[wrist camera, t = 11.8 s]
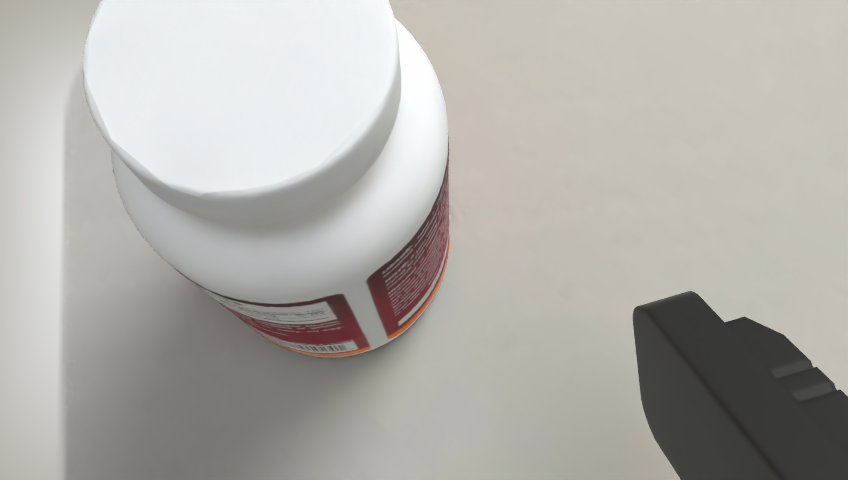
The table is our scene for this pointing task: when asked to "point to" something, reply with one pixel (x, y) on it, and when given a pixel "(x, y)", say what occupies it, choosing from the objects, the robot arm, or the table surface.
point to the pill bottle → (280, 158)
